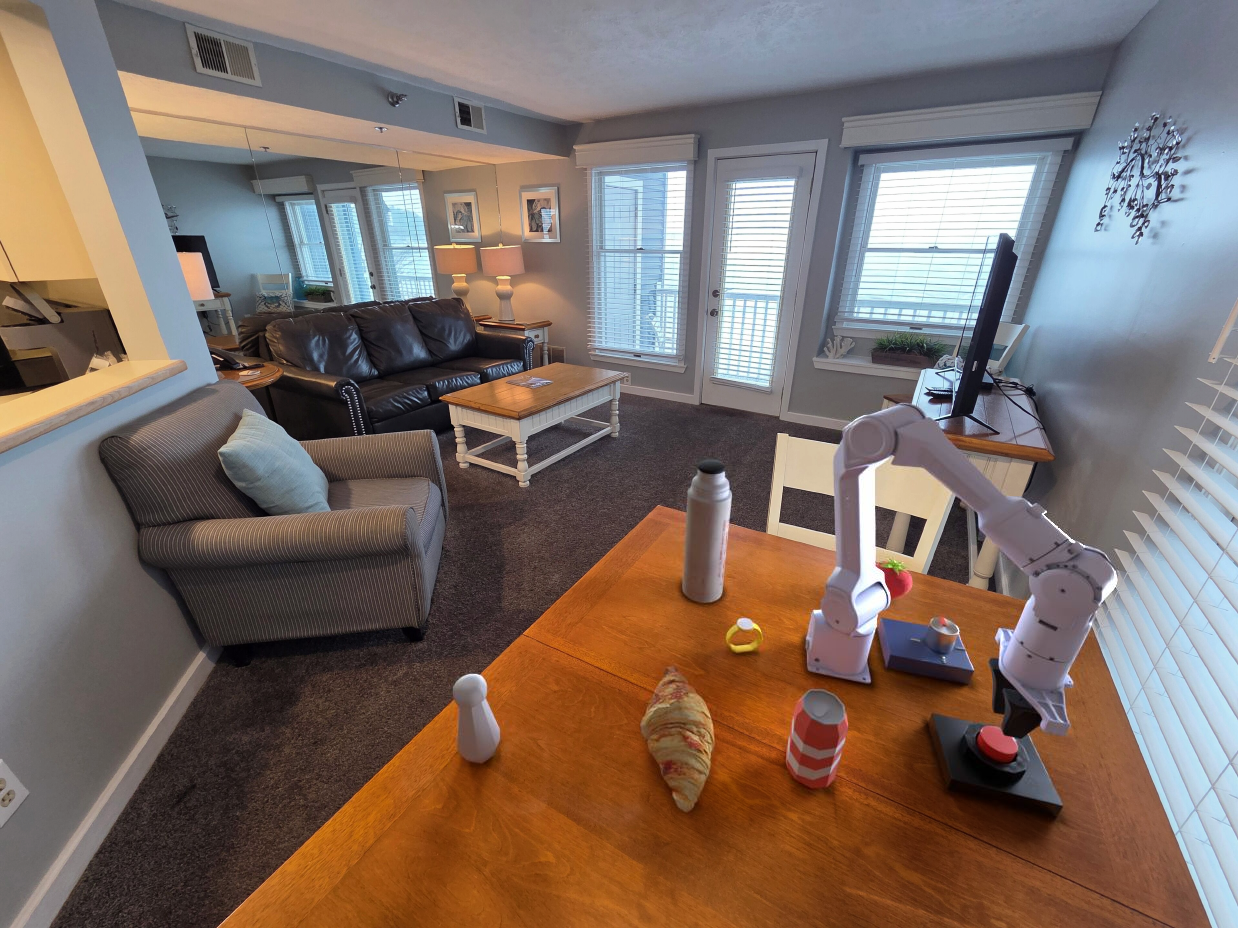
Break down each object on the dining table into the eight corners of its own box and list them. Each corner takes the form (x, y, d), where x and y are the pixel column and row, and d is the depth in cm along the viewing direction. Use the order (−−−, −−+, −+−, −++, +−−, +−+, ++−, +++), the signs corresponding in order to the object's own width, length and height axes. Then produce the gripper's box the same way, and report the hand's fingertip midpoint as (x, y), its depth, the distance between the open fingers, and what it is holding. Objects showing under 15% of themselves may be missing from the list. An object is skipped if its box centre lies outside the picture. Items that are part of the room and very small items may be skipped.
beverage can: (775, 764, 68) (787, 702, 63) (803, 738, 71) (816, 677, 66) (815, 801, 63) (831, 738, 58) (842, 771, 67) (860, 708, 62)
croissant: (707, 834, 63) (742, 800, 60) (637, 813, 61) (670, 777, 58) (685, 691, 82) (711, 660, 79) (631, 672, 80) (655, 639, 77)
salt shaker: (464, 777, 67) (449, 709, 61) (455, 741, 71) (441, 676, 66) (507, 757, 69) (496, 690, 64) (496, 724, 74) (485, 659, 68)
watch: (756, 642, 88) (760, 616, 85) (762, 654, 86) (766, 627, 83) (723, 645, 88) (726, 618, 85) (728, 657, 85) (731, 630, 82)
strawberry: (888, 615, 94) (900, 571, 90) (859, 590, 100) (870, 548, 96) (913, 608, 95) (926, 565, 91) (884, 584, 102) (895, 543, 98)
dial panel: (886, 667, 83) (890, 653, 81) (877, 629, 90) (881, 616, 89) (969, 684, 80) (975, 669, 78) (953, 643, 87) (958, 629, 86)
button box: (947, 789, 65) (955, 769, 63) (927, 723, 73) (934, 704, 72) (1057, 816, 62) (1069, 796, 60) (1023, 744, 70) (1033, 724, 69)
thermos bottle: (728, 585, 102) (741, 461, 90) (713, 608, 96) (725, 477, 84) (692, 572, 106) (700, 451, 94) (675, 593, 100) (681, 467, 88)
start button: (982, 758, 65) (987, 749, 64) (972, 731, 68) (976, 722, 67) (1018, 766, 64) (1023, 757, 63) (1006, 738, 67) (1010, 729, 66)
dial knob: (955, 655, 81) (962, 635, 79) (927, 650, 82) (934, 630, 80) (948, 638, 84) (955, 618, 83) (921, 633, 85) (928, 613, 84)
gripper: (1123, 702, 51) (1072, 787, 57) (1055, 608, 63) (1019, 685, 69) (1041, 686, 53) (1000, 770, 58) (991, 598, 65) (961, 674, 71)
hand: (1006, 723), depth 64 cm, fingers open, 3 cm apart
